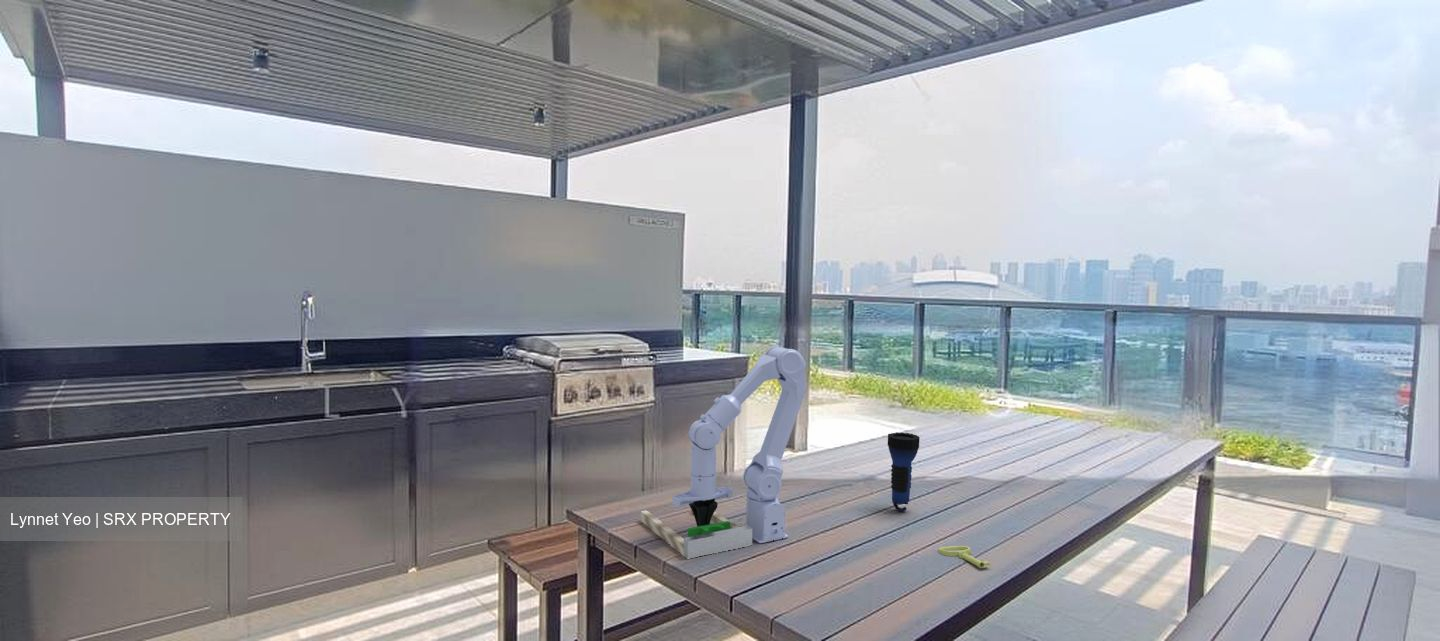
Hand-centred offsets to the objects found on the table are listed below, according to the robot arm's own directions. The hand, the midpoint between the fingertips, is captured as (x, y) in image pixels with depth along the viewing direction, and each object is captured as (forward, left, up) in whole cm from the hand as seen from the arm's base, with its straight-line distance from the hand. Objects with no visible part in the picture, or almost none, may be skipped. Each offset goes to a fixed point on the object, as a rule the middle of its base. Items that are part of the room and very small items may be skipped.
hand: (702, 532), depth 147 cm
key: (-35, -45, -2) cm, 57 cm away
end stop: (-8, 0, -2) cm, 8 cm away
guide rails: (+5, 0, -2) cm, 6 cm away
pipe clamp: (-4, 0, -2) cm, 4 cm away
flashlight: (-7, -55, -2) cm, 55 cm away
